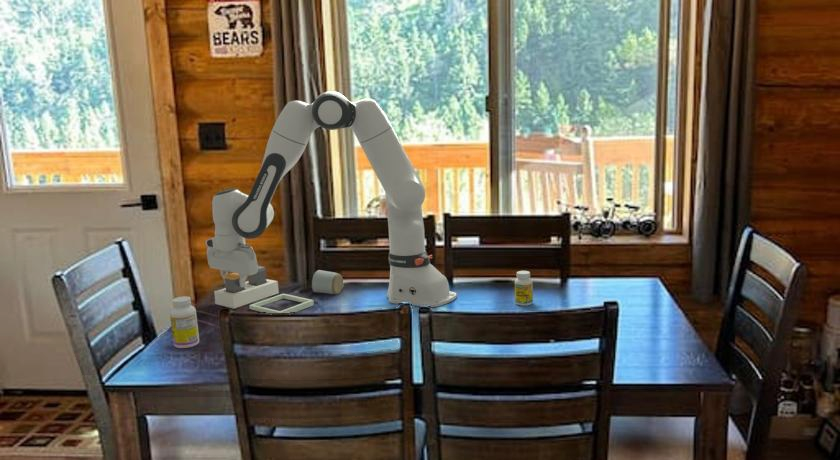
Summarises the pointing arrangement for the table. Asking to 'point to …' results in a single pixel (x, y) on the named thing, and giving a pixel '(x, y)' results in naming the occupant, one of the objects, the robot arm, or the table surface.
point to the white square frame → (303, 305)
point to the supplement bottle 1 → (184, 323)
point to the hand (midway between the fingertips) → (234, 285)
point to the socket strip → (246, 294)
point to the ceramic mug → (327, 282)
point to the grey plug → (232, 283)
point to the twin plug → (258, 277)
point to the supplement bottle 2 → (523, 289)
